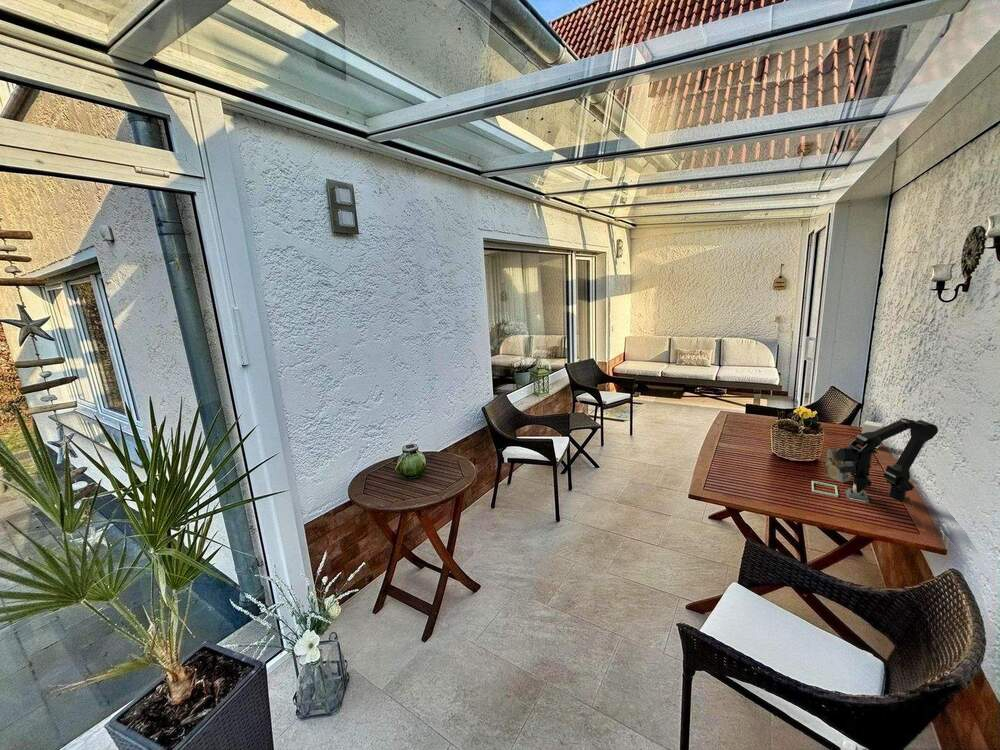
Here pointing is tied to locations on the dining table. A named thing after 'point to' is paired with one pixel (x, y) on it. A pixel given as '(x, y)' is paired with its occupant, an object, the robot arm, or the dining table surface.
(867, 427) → the supplement box
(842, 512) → the dining table surface
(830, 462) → the coffee box
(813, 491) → the pale green rectangular frame
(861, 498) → the socket block
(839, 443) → the dining table surface
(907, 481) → the robot arm
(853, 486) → the banded cream cylinder
